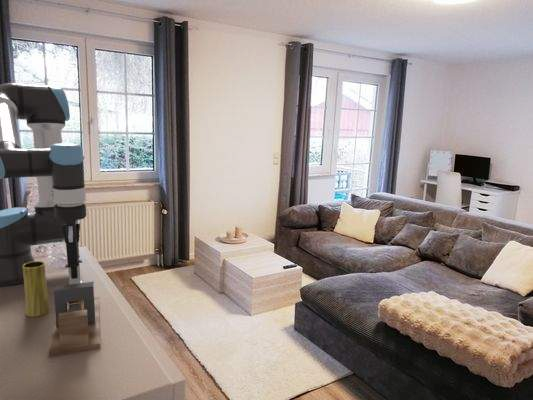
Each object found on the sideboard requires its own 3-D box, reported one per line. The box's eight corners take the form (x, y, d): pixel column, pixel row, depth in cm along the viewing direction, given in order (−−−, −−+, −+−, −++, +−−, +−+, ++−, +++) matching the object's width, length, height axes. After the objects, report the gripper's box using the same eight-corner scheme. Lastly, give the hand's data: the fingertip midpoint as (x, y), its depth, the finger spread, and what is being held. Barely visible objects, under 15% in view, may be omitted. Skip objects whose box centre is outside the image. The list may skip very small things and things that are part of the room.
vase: (38, 318, 108) (34, 269, 106) (19, 315, 110) (14, 266, 107) (54, 308, 114) (51, 261, 112) (36, 305, 116) (32, 259, 113)
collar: (57, 322, 103) (54, 286, 101) (95, 316, 107) (93, 281, 105) (56, 327, 100) (53, 290, 98) (95, 321, 104) (93, 286, 102)
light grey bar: (72, 290, 115) (71, 281, 114) (83, 289, 116) (82, 280, 115) (67, 327, 95) (66, 316, 94) (80, 325, 96) (80, 314, 95)
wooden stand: (58, 306, 116) (55, 277, 114) (98, 300, 120) (97, 272, 118) (48, 357, 91) (45, 321, 90) (100, 347, 96) (98, 313, 94)
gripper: (56, 199, 108) (61, 280, 113) (51, 210, 96) (57, 300, 101) (86, 197, 111) (90, 277, 116) (85, 208, 99) (90, 295, 104)
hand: (75, 287), depth 108 cm, fingers closed
